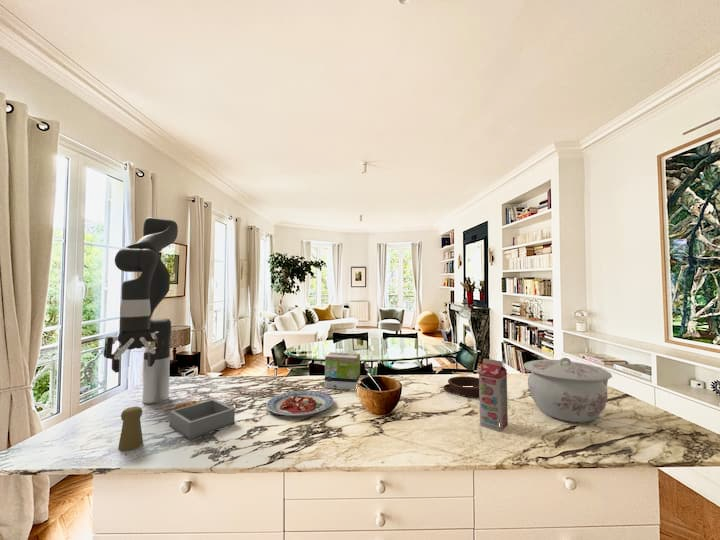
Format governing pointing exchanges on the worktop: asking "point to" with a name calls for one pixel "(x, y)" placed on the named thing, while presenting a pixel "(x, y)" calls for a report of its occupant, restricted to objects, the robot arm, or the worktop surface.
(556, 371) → the chamber pot
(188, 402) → the pastry
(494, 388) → the juice carton
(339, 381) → the tea box
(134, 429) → the cork
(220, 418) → the bin
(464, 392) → the dish
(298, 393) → the ceramic plate
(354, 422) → the worktop surface
